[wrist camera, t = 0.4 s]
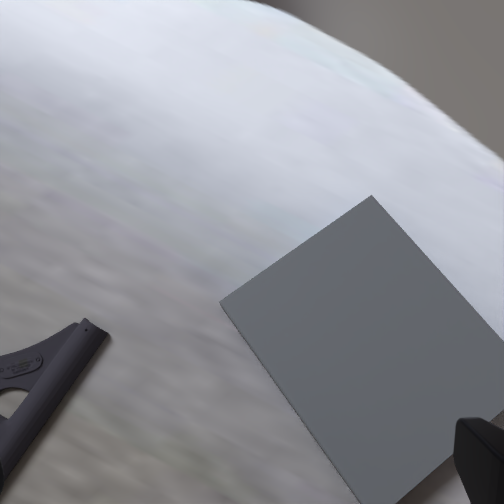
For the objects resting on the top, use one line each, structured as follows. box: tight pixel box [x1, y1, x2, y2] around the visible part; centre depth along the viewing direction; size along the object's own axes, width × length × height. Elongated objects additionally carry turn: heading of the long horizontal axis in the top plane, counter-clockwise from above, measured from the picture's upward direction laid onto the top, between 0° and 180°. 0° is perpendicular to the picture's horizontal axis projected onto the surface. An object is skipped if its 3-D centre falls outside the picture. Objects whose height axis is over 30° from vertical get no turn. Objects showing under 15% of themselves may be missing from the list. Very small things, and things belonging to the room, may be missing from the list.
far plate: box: [219, 195, 504, 504], centre depth 24 cm, size 13×11×1 cm
